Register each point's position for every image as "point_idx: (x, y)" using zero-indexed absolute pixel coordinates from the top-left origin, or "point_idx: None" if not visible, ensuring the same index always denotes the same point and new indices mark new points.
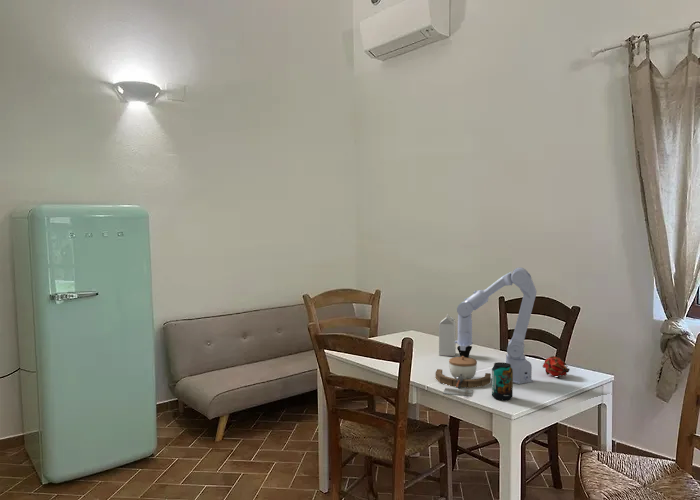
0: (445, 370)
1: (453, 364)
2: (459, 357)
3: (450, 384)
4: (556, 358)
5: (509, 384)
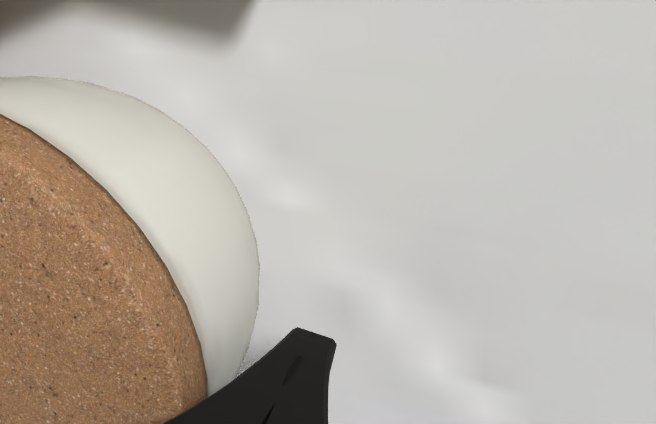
0: (606, 28)
1: None
2: (84, 356)
3: None
4: None
5: None
